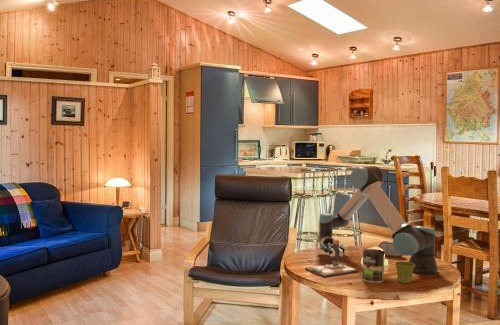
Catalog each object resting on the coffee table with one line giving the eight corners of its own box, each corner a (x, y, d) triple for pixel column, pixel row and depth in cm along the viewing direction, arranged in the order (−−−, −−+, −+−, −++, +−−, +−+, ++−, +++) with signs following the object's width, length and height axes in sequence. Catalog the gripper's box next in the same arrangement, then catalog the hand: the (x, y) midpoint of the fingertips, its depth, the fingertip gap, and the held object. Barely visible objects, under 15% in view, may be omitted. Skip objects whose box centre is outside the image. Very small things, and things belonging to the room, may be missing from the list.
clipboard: (358, 271, 255) (358, 267, 255) (324, 277, 244) (324, 273, 244) (338, 264, 269) (338, 260, 269) (305, 269, 258) (305, 265, 258)
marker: (340, 264, 263) (340, 240, 263) (335, 265, 262) (335, 241, 261) (335, 263, 266) (336, 239, 266) (331, 263, 265) (331, 239, 264)
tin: (404, 256, 289) (405, 242, 288) (404, 258, 286) (404, 243, 285) (378, 254, 294) (378, 240, 294) (377, 255, 291) (378, 241, 291)
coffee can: (376, 284, 234) (377, 255, 233) (358, 279, 241) (358, 251, 241) (387, 280, 241) (388, 251, 240) (369, 275, 249) (370, 248, 248)
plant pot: (414, 285, 233) (415, 267, 233) (394, 283, 237) (394, 265, 236) (414, 279, 242) (415, 262, 242) (394, 277, 245) (395, 260, 245)
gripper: (342, 250, 282) (353, 260, 259) (314, 250, 281) (322, 260, 258) (343, 237, 282) (353, 246, 258) (315, 237, 281) (322, 246, 257)
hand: (338, 253), depth 258 cm, fingers closed on marker, 3 cm apart
